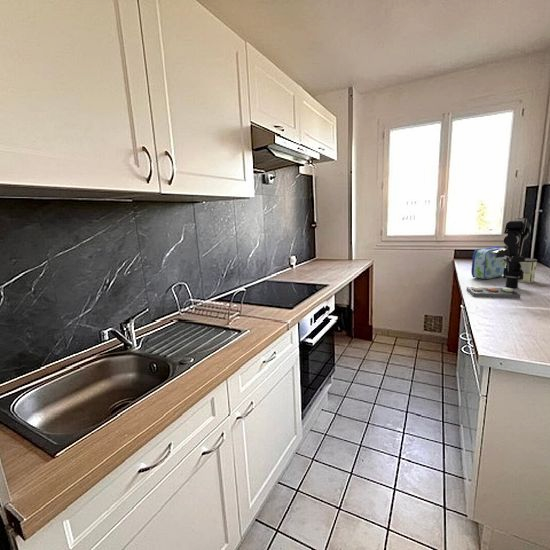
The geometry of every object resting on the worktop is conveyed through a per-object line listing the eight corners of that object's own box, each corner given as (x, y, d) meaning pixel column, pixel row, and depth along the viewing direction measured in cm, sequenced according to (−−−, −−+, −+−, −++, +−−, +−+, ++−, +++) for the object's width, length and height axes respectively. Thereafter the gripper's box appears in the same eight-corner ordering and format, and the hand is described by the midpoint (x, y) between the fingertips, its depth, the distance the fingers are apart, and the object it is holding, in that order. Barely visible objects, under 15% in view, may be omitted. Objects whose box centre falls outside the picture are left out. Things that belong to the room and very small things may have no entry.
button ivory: (471, 292, 173) (471, 286, 173) (480, 292, 172) (481, 286, 171) (473, 294, 169) (474, 288, 169) (482, 294, 168) (483, 288, 167)
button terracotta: (485, 292, 171) (486, 287, 170) (495, 292, 170) (495, 287, 169) (488, 294, 167) (489, 288, 166) (498, 295, 166) (498, 289, 165)
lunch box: (489, 273, 223) (492, 244, 218) (506, 276, 213) (510, 246, 209) (468, 278, 211) (470, 248, 207) (484, 281, 202) (488, 249, 197)
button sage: (500, 293, 169) (501, 287, 168) (510, 293, 168) (510, 287, 167) (503, 295, 165) (504, 289, 164) (513, 295, 163) (514, 289, 163)
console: (466, 291, 178) (466, 286, 178) (509, 293, 172) (509, 288, 171) (473, 298, 165) (473, 293, 165) (520, 300, 159) (520, 294, 158)
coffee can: (513, 278, 206) (515, 257, 203) (532, 279, 201) (535, 258, 198) (514, 281, 198) (517, 259, 195) (535, 283, 192) (538, 260, 189)
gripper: (489, 242, 178) (487, 269, 181) (501, 246, 160) (498, 275, 164) (512, 242, 174) (509, 269, 177) (527, 246, 157) (523, 276, 160)
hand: (509, 272), depth 170 cm, fingers closed
